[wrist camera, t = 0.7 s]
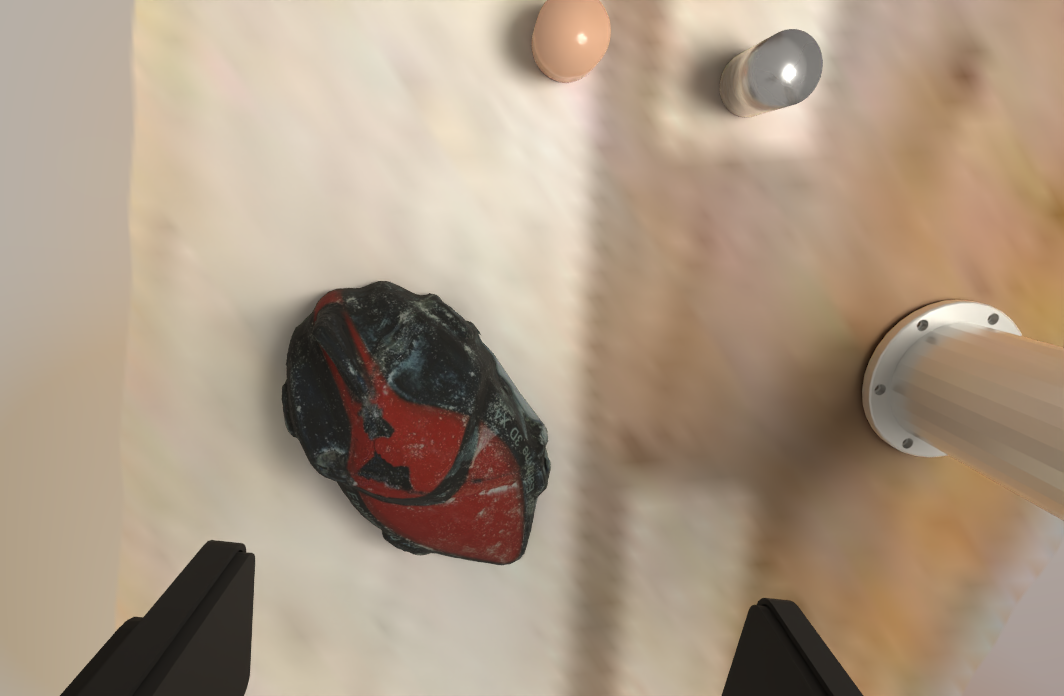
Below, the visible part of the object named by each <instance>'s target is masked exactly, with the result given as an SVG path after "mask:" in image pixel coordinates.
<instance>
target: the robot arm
mask: <svg viewBox="0 0 1064 696" xmlns="http://www.w3.org/2000/svg"><path fill="white" fill-rule="evenodd" d="M862 398H863V407H864V411H865V415H866V418H867V420H868V422H869V424H870V425H871V427H872V429H873V430H874V431H875V432H876V434H877V435H878V436H879V437H880V438H881V439H882V440H884V441H885V442H887V443H888V444H889V445H891V446H892V447H894V448H896V449H898V450H899V451H901V452H903V453H906V454H910V455H913V456H917V457H930V458H931V457H940V456H947V455H949V456H951V457H952V458H954V459H956V460H958V461H959V462H961V463H963V464H965V465H966V466H968V467H970V468H972V469H974V470H975V471H977V472H979V473H981V474H982V475H984V476H986V477H988V478H989V479H991V480H993V481H995V482H996V483H998V484H1000V485H1002V486H1003V487H1005V488H1007V489H1009V490H1010V491H1012V492H1014V493H1016V494H1018V495H1019V496H1021V497H1023V498H1025V499H1026V500H1028V501H1030V502H1032V503H1033V504H1035V505H1037V506H1039V507H1040V508H1042V509H1044V510H1046V511H1047V512H1049V513H1051V514H1053V515H1054V516H1056V517H1058V518H1060V519H1061V520H1063V521H1064V347H1060V346H1056V345H1053V344H1049V343H1045V342H1041V341H1038V340H1034V339H1030V338H1026V337H1023V336H1022V335H1021V332H1020V330H1019V329H1018V327H1017V326H1016V325H1015V323H1014V322H1013V320H1012V319H1011V318H1009V317H1008V316H1007V315H1006V314H1005V313H1003V312H1002V311H1001V310H999V309H996V308H994V307H992V306H990V305H987V304H983V303H979V302H975V301H969V300H960V299H957V300H946V301H941V302H937V303H933V304H930V305H927V306H925V307H923V308H921V309H919V310H917V311H914V312H913V313H911V314H910V315H908V316H907V317H905V318H904V319H902V320H901V321H900V322H898V323H897V324H896V325H895V326H894V327H893V328H892V329H891V330H890V331H889V332H888V333H887V334H886V335H885V337H884V338H883V339H882V341H881V342H880V343H879V345H878V346H877V347H876V349H875V351H874V353H873V355H872V357H871V359H870V360H869V363H868V366H867V369H866V372H865V375H864V381H863V388H862ZM254 574H255V555H254V554H253V553H246V547H245V545H244V544H243V543H234V542H224V541H215V540H210V541H208V542H207V543H206V544H205V545H204V546H203V547H202V548H201V549H200V551H199V552H198V553H197V554H196V555H195V557H194V558H193V559H192V560H191V561H190V562H189V564H188V565H187V566H186V567H185V568H184V570H183V571H182V572H181V573H180V574H179V576H178V577H177V578H176V579H175V580H174V582H173V583H172V584H171V585H170V586H169V588H168V589H167V590H166V591H165V592H164V593H163V595H162V596H161V597H160V598H159V599H158V601H157V602H156V603H155V604H154V605H153V607H152V608H151V609H150V610H149V611H148V613H147V614H146V615H145V616H144V617H143V618H142V617H133V618H131V619H129V620H127V621H126V622H125V623H124V624H123V625H122V626H121V627H120V628H119V629H118V630H117V631H116V632H115V633H114V634H113V636H112V637H111V638H110V639H109V640H108V641H107V642H106V643H105V645H104V646H103V647H102V648H101V649H100V650H99V651H98V653H97V654H96V655H95V656H94V657H93V658H92V659H91V661H90V662H89V663H88V664H87V665H86V666H85V667H84V669H83V670H82V671H81V672H80V673H79V674H78V676H77V677H76V678H75V679H74V680H73V681H72V683H71V684H70V685H69V686H68V687H67V688H66V689H65V691H64V692H63V693H62V694H61V695H60V696H244V694H245V692H246V689H247V685H248V681H249V676H250V661H251V639H252V618H253V596H254ZM722 696H863V695H862V693H861V692H860V690H859V689H858V688H857V686H856V685H855V684H854V682H853V681H852V679H851V678H850V677H849V675H848V674H847V673H846V671H845V670H844V669H843V667H842V666H841V664H840V663H839V662H838V660H837V659H836V658H835V656H834V655H833V654H832V652H831V651H830V649H829V648H828V647H827V645H826V644H825V643H824V641H823V640H822V639H821V637H820V636H819V634H818V633H817V632H816V630H815V629H814V628H813V626H812V625H811V623H810V622H809V621H808V619H807V618H806V617H805V615H804V614H803V613H802V611H801V610H800V608H799V607H798V606H797V605H796V604H795V603H794V602H792V601H789V600H779V599H770V598H762V599H760V600H759V601H758V603H757V605H752V606H751V607H750V609H749V611H748V614H747V618H746V621H745V624H744V627H743V630H742V633H741V636H740V640H739V643H738V646H737V649H736V652H735V655H734V658H733V662H732V665H731V668H730V671H729V674H728V677H727V680H726V684H725V687H724V690H723V693H722Z"/></svg>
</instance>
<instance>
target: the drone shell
mask: <svg viewBox="0 0 1064 696" xmlns="http://www.w3.org/2000/svg"><path fill="white" fill-rule="evenodd" d="M478 333H479V334H480V332H479V331H478V329H477V328H476V327H475V325H474V324H473V323H471V322H469V321H465V320H464V318H462V317H461V316H460V315H459V314H458V313H457V312H455V311H454V310H453V309H452V308H451V307H450V306H448V305H447V304H445V303H444V302H442V300H441V299H440V298H439V296H437V295H435V294H430V293H429V294H428V295H417V294H414V293H412V292H410V291H408V290H406V289H404V288H402V287H400V286H398V285H396V284H393V283H391V282H387V281H379V282H376V283H373V284H370V285H368V286H365V287H362V288H344V289H336V290H333V291H330V292H328V293H327V294H326V295H325V296H323V297H322V298H321V299H320V300H319V302H318V303H317V305H316V307H315V309H314V311H313V312H312V313H311V314H310V315H309V316H308V317H307V318H306V319H305V320H304V321H303V322H302V323H301V324H300V325H299V326H298V327H297V328H296V329H295V331H294V333H293V335H292V338H291V340H290V344H289V349H288V354H287V363H286V365H287V380H286V382H285V384H284V385H283V387H282V403H283V412H284V418H285V424H286V427H287V429H288V432H289V433H290V434H291V435H292V436H293V437H296V438H298V440H299V441H300V443H301V445H302V447H303V449H304V451H305V453H306V456H307V458H308V459H309V461H310V463H311V465H312V466H313V467H314V468H315V469H316V471H317V472H318V473H319V474H321V475H323V476H324V477H326V478H329V479H331V480H334V481H337V483H338V485H339V486H340V488H341V489H342V491H343V492H344V493H345V495H346V496H347V497H348V499H349V500H350V502H351V503H352V504H353V506H354V507H355V508H356V509H357V510H358V511H359V512H360V513H361V515H363V516H364V517H365V518H366V519H367V520H369V521H370V522H371V523H372V524H374V525H375V526H377V527H378V528H380V529H381V530H382V534H383V537H384V539H385V540H387V541H388V542H389V543H391V544H392V545H393V546H395V547H396V548H398V549H402V550H403V551H407V552H410V553H412V554H415V555H426V554H429V553H437V554H441V555H445V556H450V557H455V558H461V559H466V560H472V561H477V562H484V563H491V564H496V565H506V564H511V563H513V562H515V561H517V560H519V559H520V558H521V557H522V555H523V554H524V553H525V550H526V546H527V542H528V539H529V535H530V532H531V527H532V522H533V517H534V511H535V507H536V502H537V497H538V496H539V495H540V494H541V493H542V492H543V491H544V490H545V489H546V488H547V484H548V478H549V473H550V469H551V464H550V460H549V459H548V456H547V451H546V444H547V442H548V435H547V430H546V427H545V426H544V424H543V423H542V422H541V420H540V419H539V418H538V416H537V415H536V414H535V412H534V411H533V410H532V408H531V407H530V406H529V405H528V403H527V402H526V401H525V399H524V398H523V397H522V395H521V394H520V392H519V391H518V389H517V388H516V386H515V385H514V383H513V382H512V380H511V379H510V377H509V376H508V375H507V373H506V372H505V370H504V369H503V367H502V366H501V364H500V363H499V361H498V360H497V358H496V357H495V355H494V354H493V353H492V352H491V351H490V349H489V348H488V347H487V346H486V345H485V344H484V343H483V342H482V341H481V339H480V337H479V334H478ZM480 335H481V334H480ZM481 336H482V335H481Z"/></svg>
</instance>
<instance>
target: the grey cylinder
mask: <svg viewBox="0 0 1064 696" xmlns="http://www.w3.org/2000/svg"><path fill="white" fill-rule="evenodd" d="M822 67H823V60H822V54H821V50H820V48H819V46H818V44H817V42H816V41H815V39H814V38H813V37H812V36H810V35H809V34H808V33H806V32H804V31H801V30H797V29H789V30H784V31H781V32H779V33H777V34H775V35H773V36H771V37H769V38H768V39H766V40H764V41H762V42H760V43H759V44H757V45H755V46H753V47H751V48H749V49H748V50H746V51H744V52H742V53H740V54H739V55H737V56H735V57H734V58H733V59H732V60H731V61H730V62H729V63H728V64H727V65H726V67H725V69H724V70H723V73H722V75H721V79H720V86H719V88H720V96H721V99H722V102H723V104H724V105H725V107H726V108H727V109H728V110H729V111H730V112H731V113H733V114H734V115H737V116H740V117H753V116H756V115H760V114H763V113H767V112H770V111H774V110H777V109H780V108H784V107H787V106H791V105H794V104H797V103H799V102H801V101H803V100H804V99H806V98H807V97H808V96H809V95H810V94H811V93H812V92H813V90H814V89H815V87H816V86H817V84H818V82H819V80H820V77H821V73H822Z"/></svg>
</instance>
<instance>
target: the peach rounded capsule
mask: <svg viewBox="0 0 1064 696" xmlns="http://www.w3.org/2000/svg"><path fill="white" fill-rule="evenodd" d="M610 33H611V28H610V21H609V17H608V14H607V12H606V10H605V8H604V6H603V5H602V3H601V2H600V1H599V0H547V1H546V2H545V3H544V5H543V6H542V8H541V10H540V12H539V15H538V17H537V21H536V24H535V27H534V31H533V35H532V53H533V57H534V60H535V62H536V64H537V66H538V67H539V69H540V70H541V71H542V72H543V73H544V74H545V75H546V76H547V77H549V78H550V79H553V80H555V81H558V82H563V83H569V82H574V81H577V80H580V79H582V78H583V77H585V76H586V75H587V74H588V73H589V72H590V71H591V70H592V69H593V68H594V67H595V66H596V64H597V63H598V62H599V61H600V60H601V58H602V57H603V56H604V54H605V52H606V50H607V48H608V45H609V41H610Z"/></svg>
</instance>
